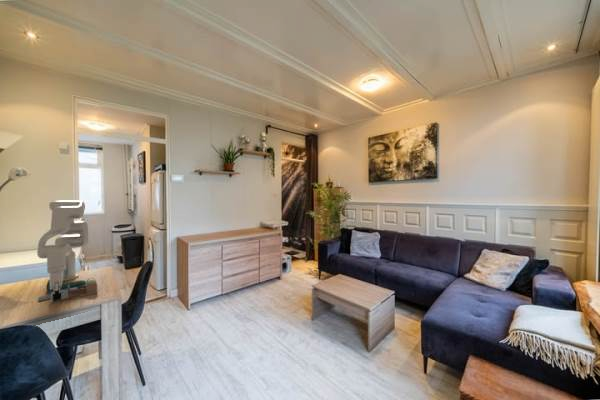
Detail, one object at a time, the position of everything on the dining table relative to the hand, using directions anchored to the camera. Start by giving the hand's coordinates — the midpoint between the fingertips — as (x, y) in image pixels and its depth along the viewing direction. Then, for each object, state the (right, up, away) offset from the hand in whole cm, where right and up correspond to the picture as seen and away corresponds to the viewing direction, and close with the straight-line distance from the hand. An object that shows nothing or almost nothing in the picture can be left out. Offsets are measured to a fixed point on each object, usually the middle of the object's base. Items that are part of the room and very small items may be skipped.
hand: (57, 298), depth 136 cm
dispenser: (+8, -1, +7) cm, 11 cm away
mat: (-7, -1, +1) cm, 7 cm away
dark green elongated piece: (-11, 0, +17) cm, 20 cm away
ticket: (+3, -1, +2) cm, 3 cm away
